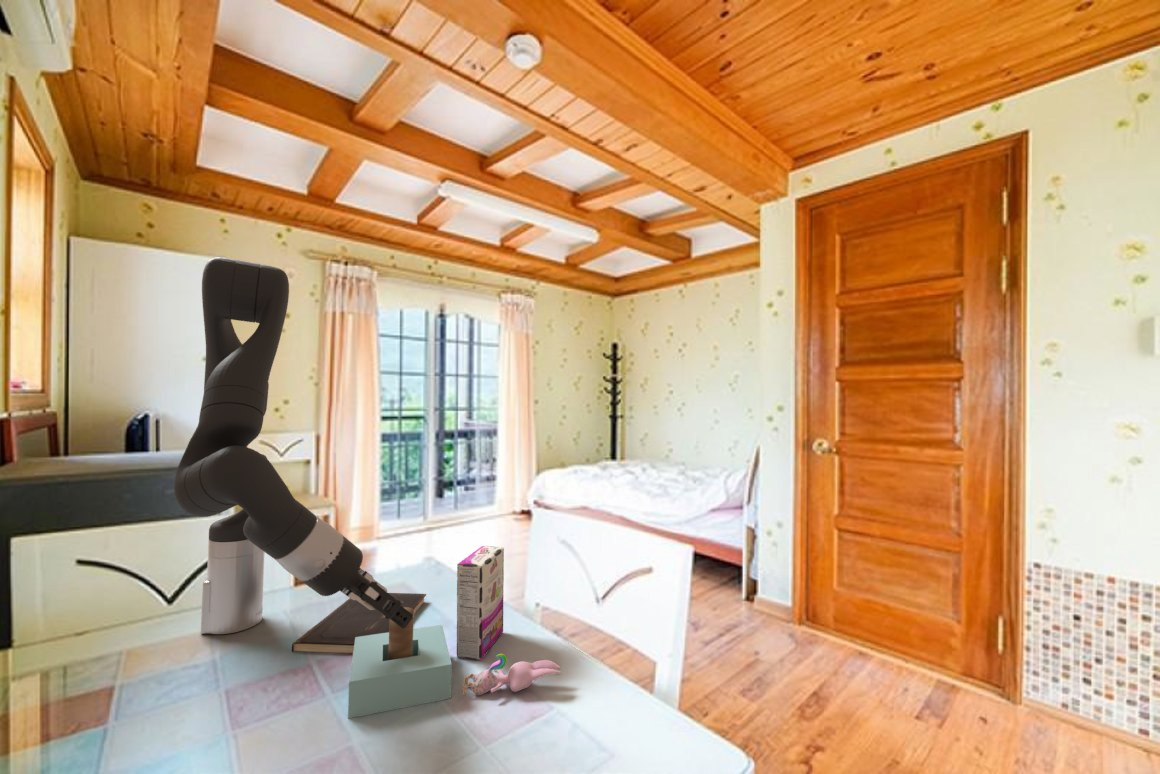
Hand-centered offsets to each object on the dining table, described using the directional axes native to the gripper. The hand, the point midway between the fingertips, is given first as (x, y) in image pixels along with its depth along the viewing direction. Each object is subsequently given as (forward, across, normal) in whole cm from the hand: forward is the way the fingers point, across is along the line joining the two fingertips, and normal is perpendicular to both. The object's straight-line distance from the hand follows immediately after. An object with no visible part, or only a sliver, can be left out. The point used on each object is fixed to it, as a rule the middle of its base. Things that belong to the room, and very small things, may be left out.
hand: (394, 613), depth 77 cm
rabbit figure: (+17, -14, -1) cm, 22 cm away
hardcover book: (+13, +24, +4) cm, 27 cm away
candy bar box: (+20, +1, -4) cm, 21 cm away
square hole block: (+9, 0, +7) cm, 11 cm away
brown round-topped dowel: (+9, 0, +7) cm, 11 cm away
